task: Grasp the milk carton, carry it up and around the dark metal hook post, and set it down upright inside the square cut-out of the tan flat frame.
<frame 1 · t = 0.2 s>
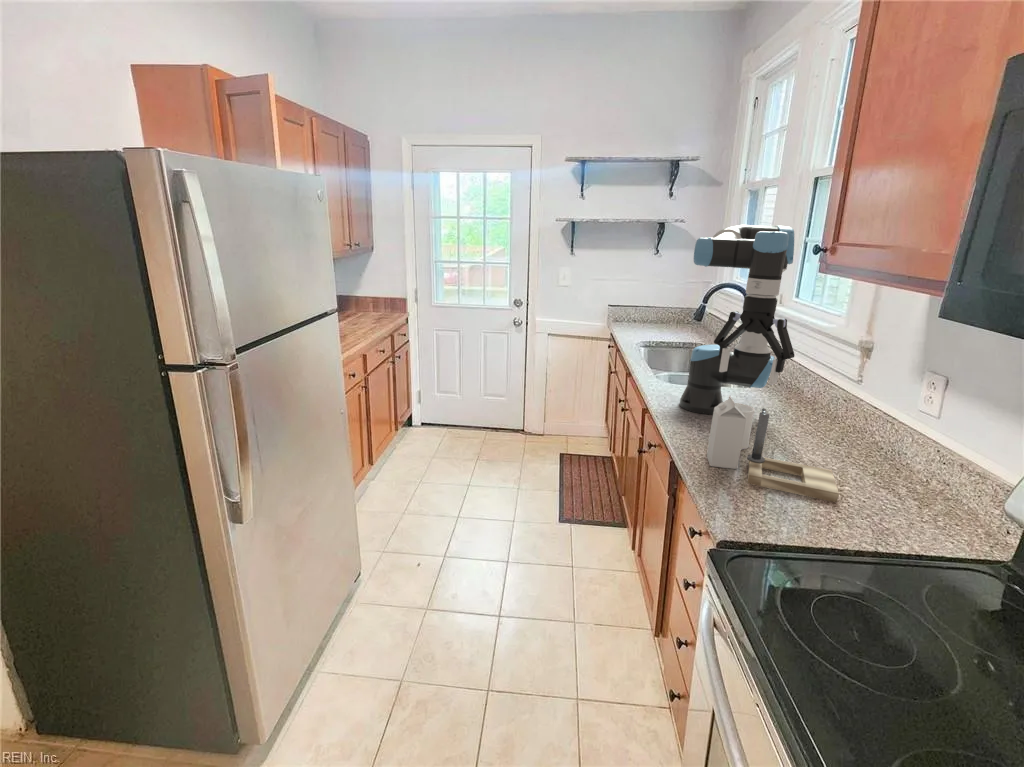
hand: (746, 377, 133), 26 cm above the worktop, fingers open, 13 cm apart
hook post: (754, 467, 141), on the worktop
tan flat frame: (789, 481, 134), on the worktop
milk carton: (721, 463, 144), on the worktop
mug: (728, 443, 157), on the worktop
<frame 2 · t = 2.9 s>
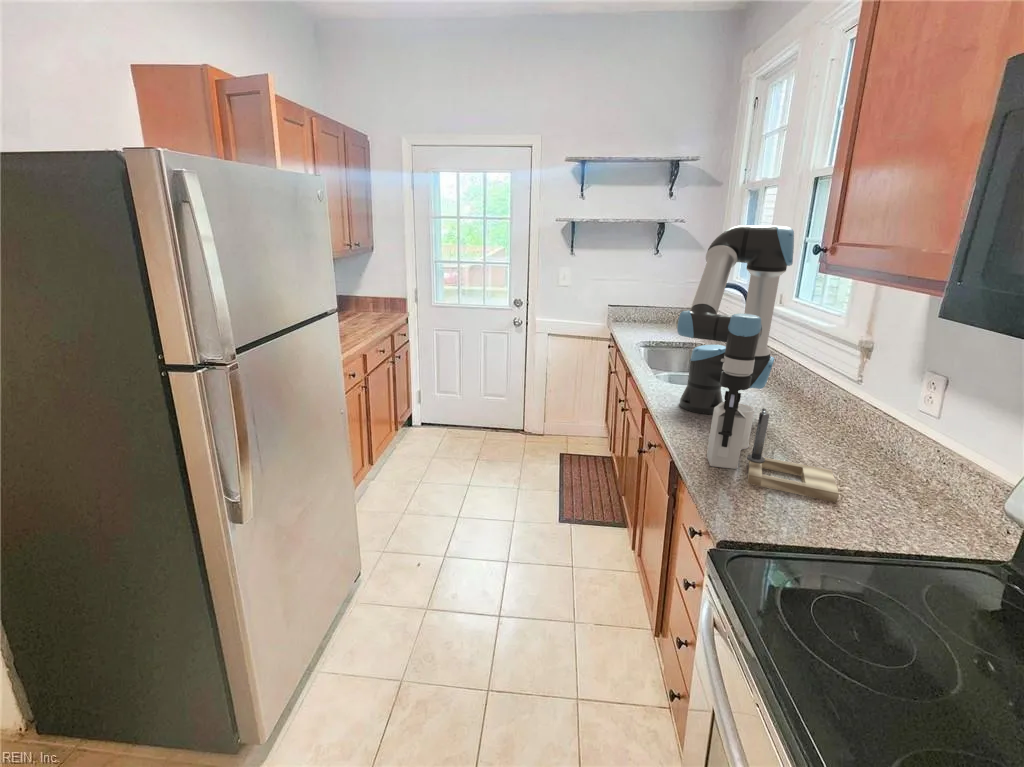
hand: (723, 450, 143), 4 cm above the worktop, fingers closed on milk carton, 8 cm apart
milk carton: (721, 463, 144), on the worktop, touching gripper
everything else where it was.
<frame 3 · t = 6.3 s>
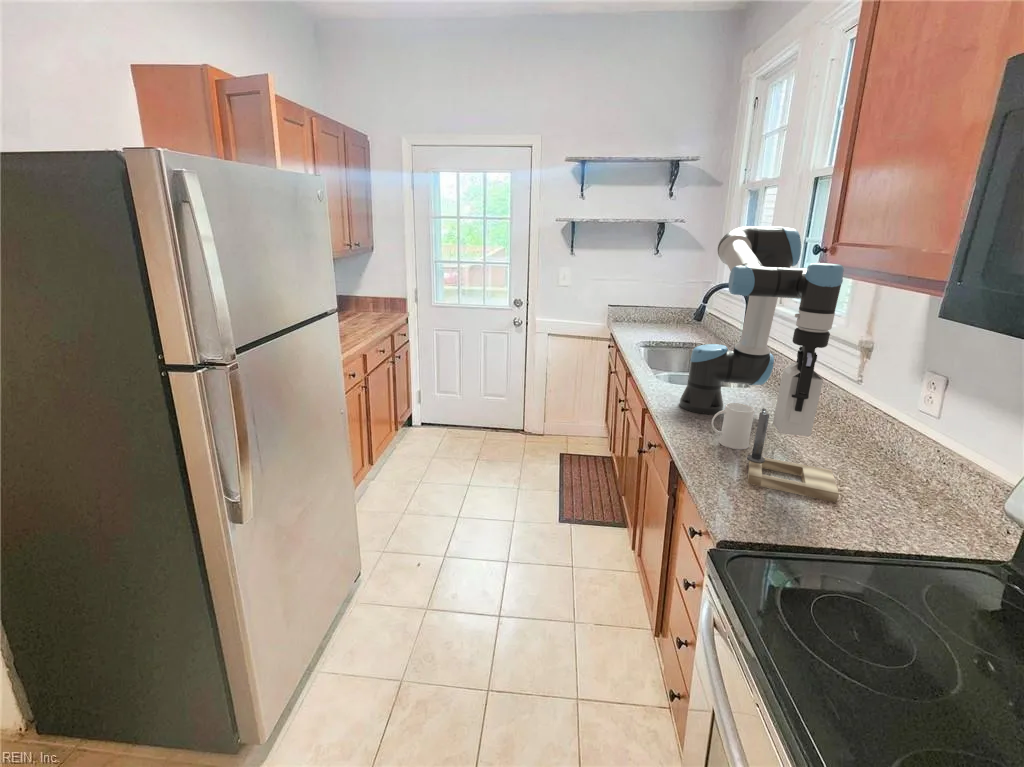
hand: (793, 416, 130), 18 cm above the worktop, fingers closed on milk carton, 8 cm apart
milk carton: (790, 431, 131), point 14 cm above the worktop, touching gripper
everything else where it was.
when the fingers open (5 cm above the worktop, at t = 9.5 s): milk carton drops 1 cm, on the worktop.
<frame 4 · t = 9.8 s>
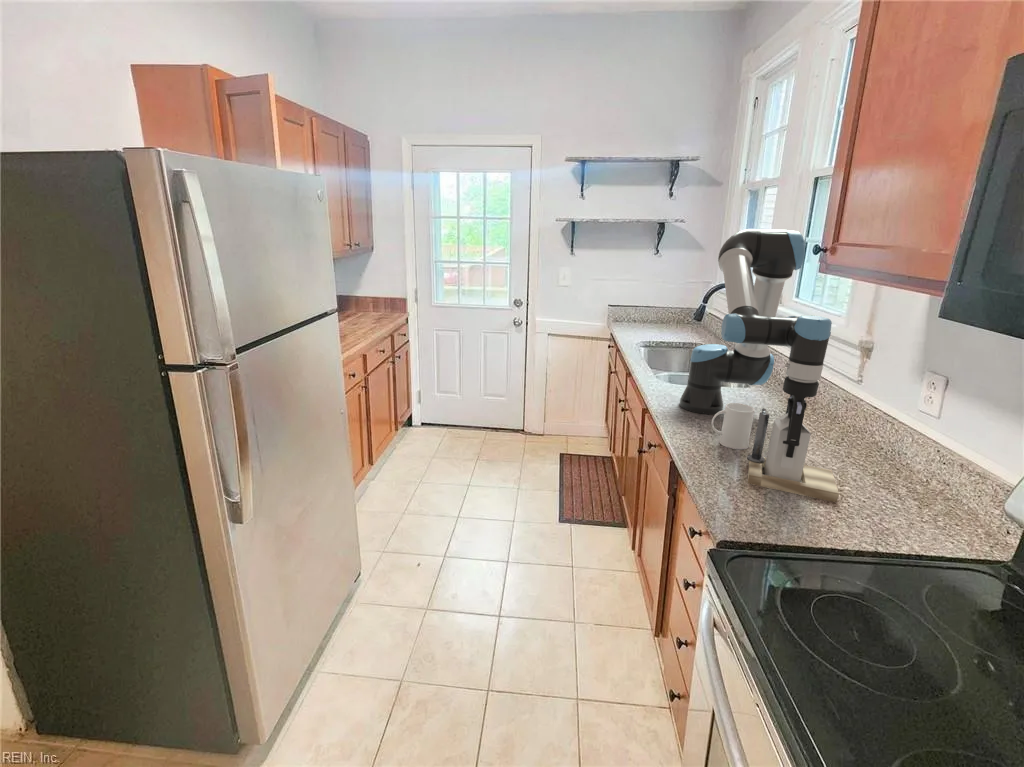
hand: (785, 458, 133), 6 cm above the worktop, fingers open, 11 cm apart
milk carton: (780, 479, 135), on the worktop
everything else where it was.
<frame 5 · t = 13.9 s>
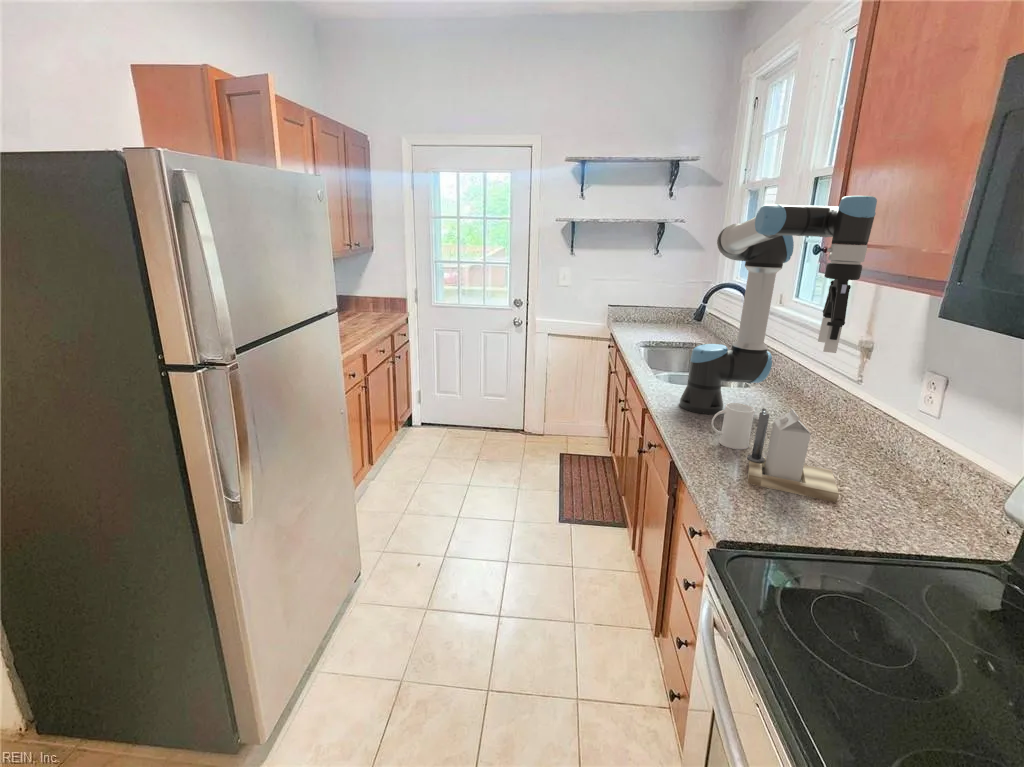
hand: (826, 347, 132), 35 cm above the worktop, fingers open, 13 cm apart
nothing on the worktop moved.
at the end: milk carton inside the target area (0.0 cm from its centre), on the worktop; milk carton tilted 0°; the gripper is holding nothing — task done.
